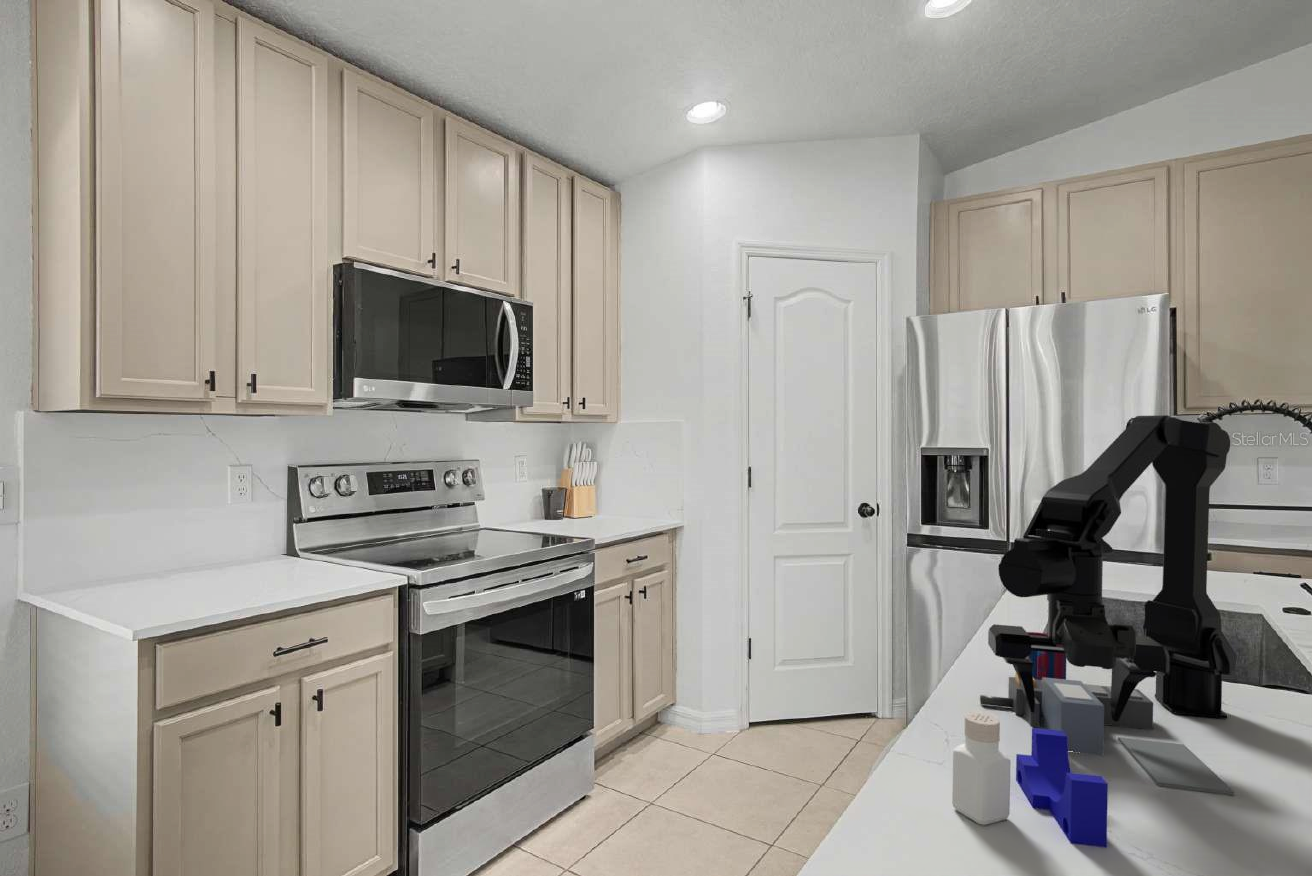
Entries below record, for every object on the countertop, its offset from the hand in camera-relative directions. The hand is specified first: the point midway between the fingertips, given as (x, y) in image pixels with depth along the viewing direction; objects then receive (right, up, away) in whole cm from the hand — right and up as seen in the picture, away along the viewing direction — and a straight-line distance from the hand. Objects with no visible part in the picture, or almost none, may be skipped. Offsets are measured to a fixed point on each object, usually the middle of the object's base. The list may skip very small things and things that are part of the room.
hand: (1072, 715), depth 88 cm
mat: (+7, -3, -7) cm, 10 cm away
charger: (0, -3, 0) cm, 3 cm away
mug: (+6, -3, +19) cm, 21 cm away
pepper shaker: (-20, -3, -18) cm, 27 cm away
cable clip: (-11, -3, -17) cm, 21 cm away
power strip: (+3, -3, +7) cm, 8 cm away
